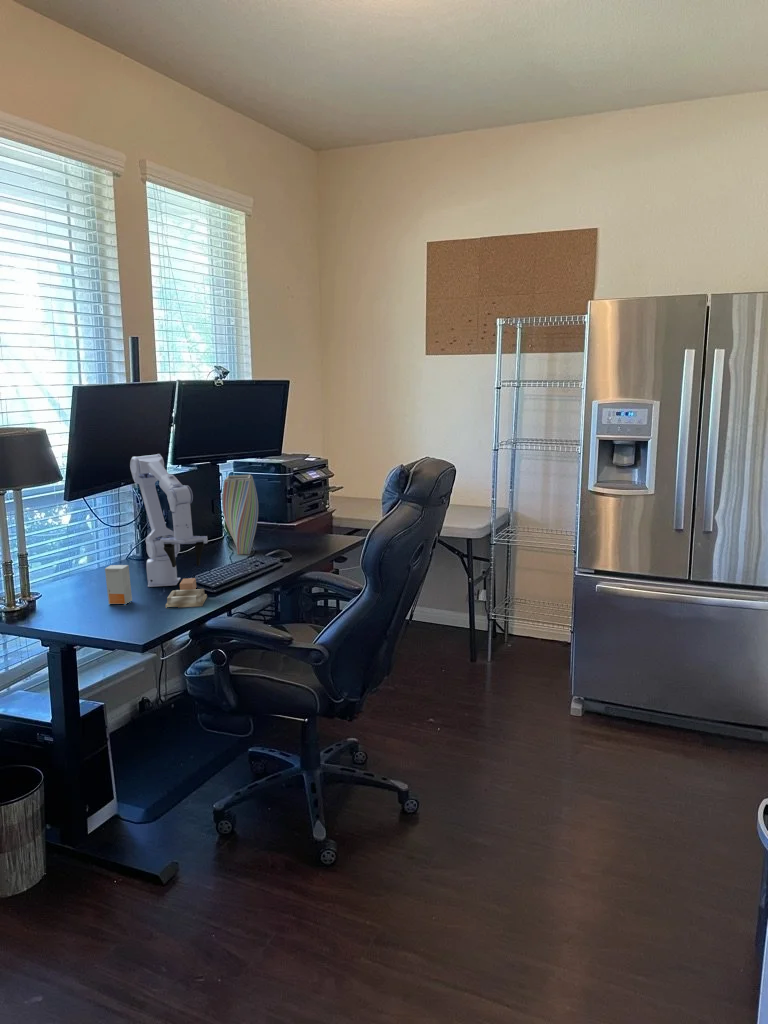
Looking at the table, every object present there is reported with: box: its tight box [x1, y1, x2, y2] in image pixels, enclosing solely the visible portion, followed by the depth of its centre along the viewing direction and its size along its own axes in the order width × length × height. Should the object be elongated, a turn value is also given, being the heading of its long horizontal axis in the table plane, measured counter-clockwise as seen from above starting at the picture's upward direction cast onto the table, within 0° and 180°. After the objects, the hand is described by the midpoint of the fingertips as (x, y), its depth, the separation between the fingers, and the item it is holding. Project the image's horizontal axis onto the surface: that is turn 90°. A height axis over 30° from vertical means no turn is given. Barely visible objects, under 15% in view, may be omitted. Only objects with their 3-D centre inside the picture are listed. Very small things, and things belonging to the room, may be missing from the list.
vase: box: [221, 474, 259, 555], centre depth 289 cm, size 14×14×30 cm
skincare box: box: [104, 564, 133, 605], centre depth 233 cm, size 6×4×12 cm
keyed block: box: [179, 577, 197, 590], centre depth 241 cm, size 4×6×4 cm, turn 4°
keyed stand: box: [165, 588, 208, 609], centre depth 232 cm, size 11×9×3 cm
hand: (186, 565), depth 239 cm, fingers open, 7 cm apart
